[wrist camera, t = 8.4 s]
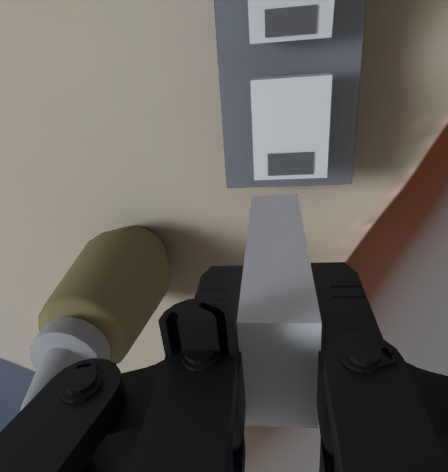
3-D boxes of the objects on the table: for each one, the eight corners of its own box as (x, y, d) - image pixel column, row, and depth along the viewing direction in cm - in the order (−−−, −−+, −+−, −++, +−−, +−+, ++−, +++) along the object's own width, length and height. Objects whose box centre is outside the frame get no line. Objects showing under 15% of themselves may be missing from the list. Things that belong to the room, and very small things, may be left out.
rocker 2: (251, 78, 23) (250, 80, 21) (328, 72, 23) (332, 74, 21) (255, 171, 26) (254, 180, 24) (323, 169, 25) (327, 178, 24)
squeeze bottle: (177, 215, 34) (92, 361, 18) (181, 290, 37) (114, 469, 21) (91, 212, 35) (-65, 347, 18) (103, 285, 38) (-19, 454, 22)
